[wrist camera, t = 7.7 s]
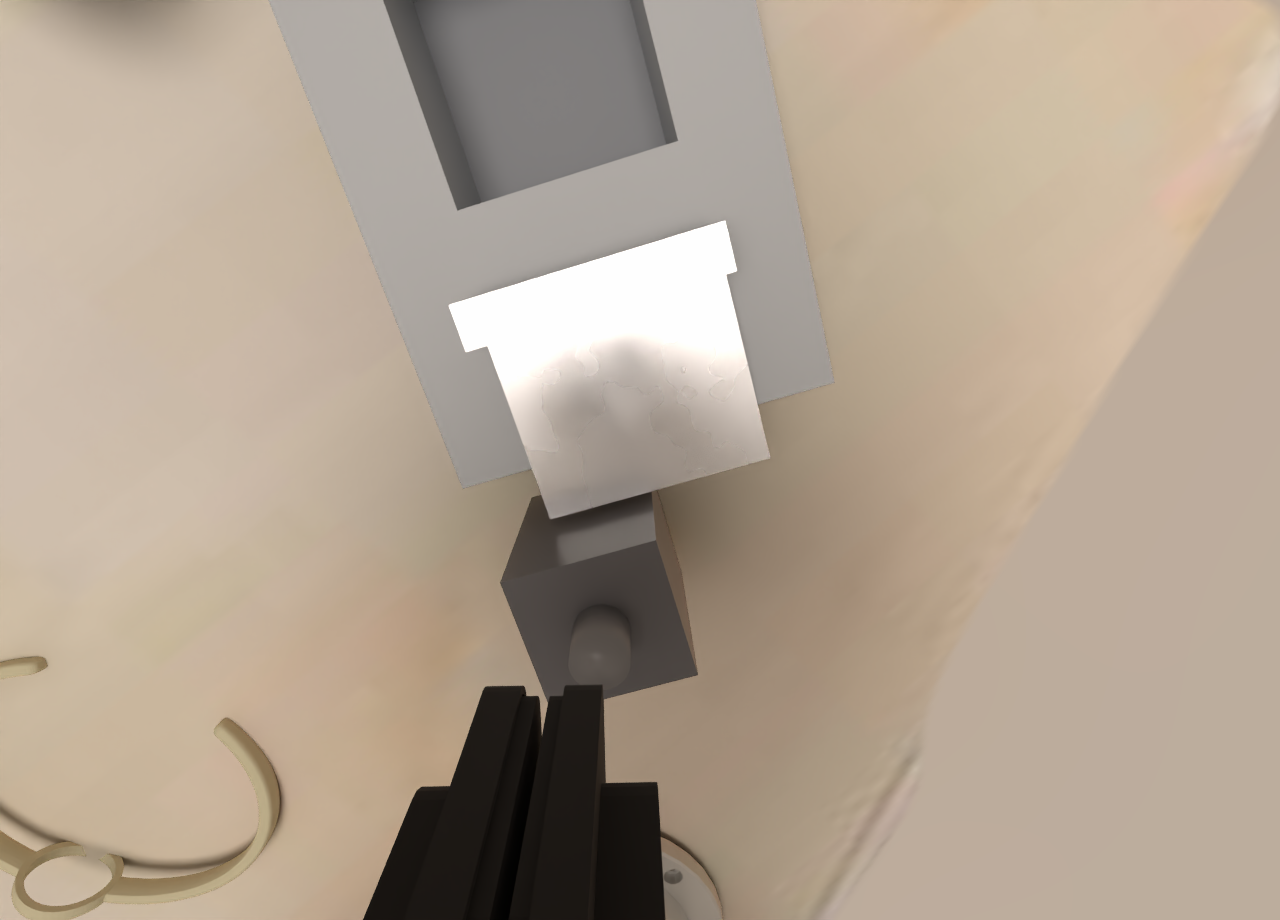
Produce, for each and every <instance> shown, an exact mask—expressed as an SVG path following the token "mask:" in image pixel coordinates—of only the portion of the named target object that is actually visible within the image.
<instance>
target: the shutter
mask: <svg viewBox="0 0 1280 920" xmlns="http://www.w3.org/2000/svg"><path fill="white" fill-rule="evenodd" d="M735 271H737V269H736V264H735V260H734V256H733V252H732V248H731V243H730V239H729V235H728V231H727V227H726V222H725V221H720V222H715V223H710V224H706V225H703V226H700V227H697V228H693V229H690V230H687V231H683V232H680V233H677V234H674V235H670V236H667V237H664V238H661V239H657V240H654V241H651V242H648V243H644V244H641V245H638V246H634V247H631V248H628V249H625V250H621V251H618V252H615V253H612V254H608V255H605V256H602V257H598V258H595V259H592V260H589V261H585V262H582V263H579V264H576V265H572V266H569V267H566V268H563V269H559V270H556V271H553V272H549V273H546V274H543V275H540V276H536V277H533V278H530V279H527V280H523V281H520V282H517V283H513V284H510V285H507V286H504V287H500V288H497V289H494V290H491V291H487V292H484V293H481V294H478V295H474V296H472V297H469V298H466V299H464V300H461V301H458V302H456V303H453V304H450V305H449V308H450V310H451V313H452V316H453V318H454V321H455V324H456V327H457V329H458V332H459V335H460V337H461V340H462V343H463V345H464V348H465V351H466V352H468V351H471V350H475V349H478V348H481V347H485V346H488V348H489V351H490V354H491V357H492V359H493V362H494V365H495V368H496V370H497V373H498V376H499V379H500V382H501V384H502V387H503V390H504V393H505V395H506V398H507V401H508V404H509V407H510V409H511V412H512V415H513V418H514V420H515V423H516V426H517V429H518V431H519V434H520V437H521V440H522V443H523V445H524V448H525V451H526V454H527V456H528V459H529V462H530V465H531V468H532V470H533V473H534V476H535V479H536V481H537V484H538V487H539V490H540V493H541V495H542V498H543V501H544V504H545V506H546V509H547V512H548V515H549V517H550V520H551V519H554V518H558V517H562V516H565V515H569V514H572V513H576V512H580V511H583V510H587V509H590V508H594V507H598V506H601V505H605V504H608V503H612V502H615V501H619V500H623V499H626V498H630V497H633V496H637V495H641V494H644V493H648V492H651V491H655V490H659V489H662V488H666V487H669V486H673V485H676V484H680V483H684V482H687V481H691V480H694V479H698V478H702V477H705V476H709V475H712V474H716V473H720V472H723V471H727V470H730V469H734V468H737V467H741V466H745V465H748V464H752V463H755V462H759V461H763V460H766V459H770V453H769V449H768V445H767V441H766V437H765V433H764V429H763V425H762V421H761V417H760V412H759V408H758V404H757V400H756V396H755V392H754V388H753V384H752V380H751V376H750V371H749V367H748V363H747V359H746V355H745V351H744V347H743V343H742V339H741V335H740V331H739V326H738V322H737V318H736V314H735V310H734V306H733V302H732V298H731V294H730V290H729V285H728V281H727V277H726V274H728V273H732V272H735Z"/></svg>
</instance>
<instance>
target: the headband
mask: <svg viewBox="0 0 1280 920" xmlns="http://www.w3.org/2000/svg"><path fill="white" fill-rule="evenodd" d="M46 667H47V663H46V660H45V659H44V658H42V657H28V658H19V659H13V660H8V661H3V662H0V679H4V678H10V677H16V676H25V675H31V674H35V673H37V672H39V671H41V670H43V669H45V668H46ZM214 734H215V736H216V737H217V738H218V739H220V740H221V741H222V742H223V743H224V744H225V745H226V746H227V747H228V748H229V750H230V751H231V752H232V753H233V754H234V755H235V757H236V758H237V759H238V760H239V762H240V763H241V765H242V766H243V768H244V769H245V771H246V772H247V774H248V776H249V778H250V780H251V782H252V785H253V787H254V790H255V792H256V796H257V800H258V805H259V824H258V830H257V833H256V836H255V838H254V840H253V842H252V843H251V844H250V846H249V847H248V848H247V849H246V850H245V851H244V852H242V853H241V854H240V855H238V856H237V857H235V858H234V859H232V860H230V861H228V862H227V863H225V864H223V865H220V866H218V867H216V868H213V869H210V870H207V871H204V872H200V873H196V874H192V875H187V876H181V877H173V878H159V879H142V878H127V877H121V876H122V873H123V869H124V863H123V860H122V858H121V856H116V855H111V854H106V855H105V856H104V857H103V858H101V859H99V860H100V861H102V862H103V863H105V864H106V865H107V866H108V867H109V868H110V870H111V872H112V880H111V881H110V882H109V883H108V885H107V886H106V887H104V888H103V889H102V890H101V891H100V892H98V893H97V894H95V895H93V896H92V897H90V898H88V899H86V900H83V901H80V902H78V903H74V904H70V905H65V906H47V905H42V904H40V903H37V902H35V901H34V900H32V899H31V898H30V897H29V896H28V895H27V893H26V891H25V889H24V880H25V878H26V877H27V875H28V874H29V873H30V872H31V871H32V870H33V869H35V868H36V867H37V866H39V865H41V864H42V863H44V862H46V861H49V860H51V859H54V858H58V857H63V856H76V855H79V856H86V854H85V852H84V849H83V846H80V845H78V844H75V843H72V842H70V841H68V842H61V843H57V844H53V845H50V846H47V847H45V848H43V849H41V850H39V851H37V852H36V851H33V850H31V849H29V848H28V847H26V846H24V845H22V844H20V843H19V842H17V841H15V840H14V839H12V838H11V837H9V836H7V835H6V834H5V833H3V832H2V831H0V869H1V870H3V871H5V872H7V873H9V874H11V875H13V876H15V877H16V878H15V881H14V884H13V888H12V894H11V896H12V902H13V905H14V907H15V908H16V910H17V911H18V912H19V913H20V914H21V915H23V916H24V917H26V918H28V919H30V920H69V919H73V918H76V917H78V916H81V915H83V914H85V913H87V912H89V911H91V910H93V909H95V908H96V907H98V906H99V905H101V904H102V903H103V902H107V903H117V904H156V903H166V902H173V901H178V900H183V899H188V898H192V897H195V896H199V895H202V894H205V893H207V892H210V891H212V890H215V889H217V888H219V887H221V886H223V885H225V884H227V883H228V882H230V881H232V880H233V879H235V878H236V877H237V876H239V875H240V874H242V873H243V872H244V871H245V870H246V869H247V868H248V867H249V866H250V865H251V864H252V863H253V862H254V861H255V860H256V859H257V857H258V856H259V855H260V853H261V852H262V850H263V849H264V847H265V846H266V844H267V842H268V841H269V839H270V837H271V835H272V833H273V831H274V829H275V826H276V823H277V819H278V814H279V806H280V797H279V788H278V783H277V779H276V776H275V773H274V771H273V768H272V766H271V764H270V763H269V761H268V759H267V758H266V756H265V755H264V753H263V752H262V751H261V749H260V748H259V747H258V746H257V744H256V743H255V742H254V741H253V740H252V739H251V738H250V737H249V736H248V735H247V734H246V733H245V732H244V731H243V730H242V729H241V728H240V727H239V726H238V725H236V724H235V723H234V722H233V721H232V720H230V719H228V718H225V719H223V720H222V721H221V722H220V723H219V724H218V725H217V726H216V727H215V729H214Z"/></svg>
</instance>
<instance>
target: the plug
mask: <svg viewBox="0 0 1280 920" xmlns="http://www.w3.org/2000/svg"><path fill="white" fill-rule="evenodd" d="M500 583H501V586H502V588H503V591H504V593H505V596H506V598H507V601H508V603H509V606H510V609H511V611H512V614H513V616H514V619H515V621H516V624H517V626H518V629H519V631H520V634H521V636H522V639H523V641H524V644H525V646H526V649H527V651H528V654H529V656H530V659H531V661H532V664H533V666H534V669H535V671H536V674H537V676H538V679H539V681H540V684H541V686H542V689H543V692H544V694H545V697H546V699H547V702H549V697H550V696H563V692H564V687H565V685H600V684H603V699H607V698H610V697H614V696H618V695H622V694H626V693H630V692H634V691H638V690H641V689H645V688H649V687H653V686H657V685H661V684H665V683H669V682H673V681H676V680H680V679H684V678H688V677H692V676H696V675H698V672H697V666H696V659H695V653H694V647H693V641H692V634H691V628H690V622H689V615H688V609H687V603H686V597H685V590H684V584H683V578H682V572H681V568H680V565H679V562H678V558H677V555H676V552H675V548H674V545H673V542H672V539H671V535H670V532H669V529H668V525H667V522H666V519H665V515H664V512H663V509H662V506H661V502H660V499H659V496H658V492H657V490H655V491H651V492H648V493H644V494H641V495H637V496H633V497H630V498H626V499H623V500H619V501H615V502H612V503H608V504H605V505H601V506H598V507H594V508H590V509H587V510H583V511H580V512H576V513H572V514H569V515H565V516H562V517H558V518H554V519H551V520H550V517H549V515H548V512H547V509H546V506H545V504H544V501H543V498H542V495H540V496H536V497H533V498H532V499H531V501H530V504H529V507H528V509H527V512H526V515H525V517H524V520H523V523H522V526H521V528H520V531H519V534H518V536H517V539H516V542H515V544H514V547H513V550H512V553H511V555H510V558H509V561H508V563H507V566H506V569H505V571H504V574H503V577H502V580H501V582H500Z"/></svg>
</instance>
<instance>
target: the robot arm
mask: <svg viewBox="0 0 1280 920" xmlns="http://www.w3.org/2000/svg"><path fill="white" fill-rule="evenodd" d="M363 920H723V917H722V909H721V903H720V900H719V897H718V894H717V892H716V889H715V886H714V884H713V883H712V881H711V879H710V878H709V876H708V875H707V873H706V872H705V870H704V869H703V868H702V867H701V866H700V865H699V864H698V863H697V862H696V861H695V860H694V859H693V858H692V857H691V856H690V855H689V854H688V853H687V852H686V851H684V850H683V849H681V848H680V847H678V846H677V845H675V844H674V843H672V842H671V841H669V840H667V839H665V838H662V837H661V833H660V816H659V800H658V785H657V782H640V783H606V777H605V738H604V699H603V684H600V685H565V687H564V692H563V696H550V697H549V702H548V707H547V712H546V718H545V723H544V729H543V734H542V732H541V713H540V700H539V697H538V696H526V690H525V687H524V686H487V687H485V688H484V690H483V692H482V695H481V698H480V701H479V704H478V707H477V710H476V713H475V716H474V718H473V721H472V724H471V727H470V730H469V733H468V736H467V739H466V742H465V744H464V747H463V750H462V753H461V756H460V759H459V762H458V765H457V768H456V771H455V773H454V776H453V779H452V782H451V785H450V786H439V787H421V788H419V789H418V790H417V791H416V793H415V795H414V797H413V799H412V801H411V804H410V806H409V809H408V811H407V813H406V816H405V818H404V821H403V823H402V826H401V828H400V831H399V833H398V836H397V838H396V840H395V843H394V845H393V848H392V850H391V853H390V855H389V858H388V860H387V862H386V865H385V867H384V870H383V872H382V875H381V877H380V880H379V882H378V884H377V887H376V889H375V892H374V894H373V897H372V899H371V902H370V904H369V907H368V909H367V911H366V914H365V916H364V919H363Z"/></svg>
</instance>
